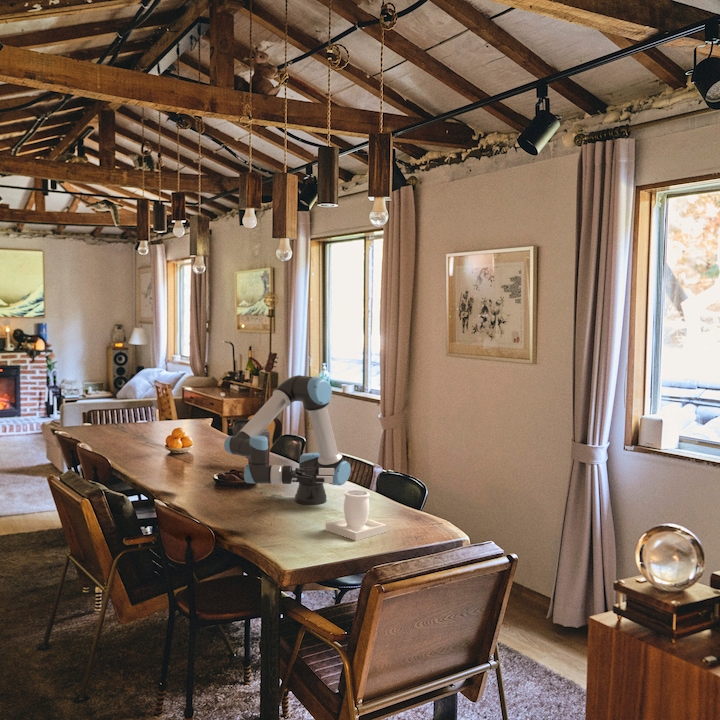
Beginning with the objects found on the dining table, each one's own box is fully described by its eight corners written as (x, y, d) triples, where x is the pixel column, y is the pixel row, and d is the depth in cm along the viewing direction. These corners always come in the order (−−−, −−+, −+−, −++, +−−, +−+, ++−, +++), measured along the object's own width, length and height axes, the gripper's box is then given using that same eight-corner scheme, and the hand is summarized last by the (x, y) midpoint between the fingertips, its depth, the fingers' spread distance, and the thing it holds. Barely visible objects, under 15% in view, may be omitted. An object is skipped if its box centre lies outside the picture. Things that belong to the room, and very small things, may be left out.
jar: (371, 526, 295) (372, 491, 294) (364, 533, 285) (366, 497, 284) (347, 523, 298) (348, 488, 297) (339, 530, 288) (341, 494, 287)
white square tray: (356, 522, 305) (356, 515, 304) (386, 532, 292) (387, 524, 292) (325, 530, 292) (325, 522, 292) (355, 541, 279) (355, 533, 279)
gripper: (285, 476, 303) (334, 477, 303) (278, 491, 278) (331, 492, 278) (285, 459, 302) (335, 459, 302) (278, 473, 278) (332, 474, 277)
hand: (333, 475), depth 290 cm, fingers open, 13 cm apart
